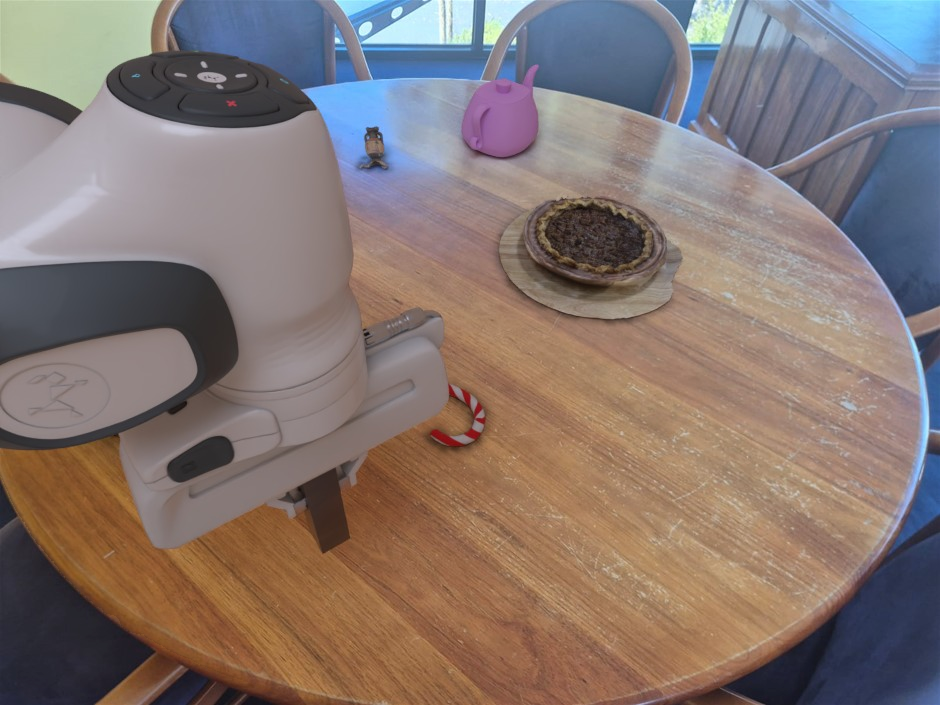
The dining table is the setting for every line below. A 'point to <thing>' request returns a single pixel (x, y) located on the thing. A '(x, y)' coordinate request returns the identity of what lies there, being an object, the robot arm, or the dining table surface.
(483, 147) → the teapot
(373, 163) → the vase
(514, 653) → the dining table surface
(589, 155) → the dining table surface
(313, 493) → the stick
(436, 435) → the candy cane
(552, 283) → the pie
